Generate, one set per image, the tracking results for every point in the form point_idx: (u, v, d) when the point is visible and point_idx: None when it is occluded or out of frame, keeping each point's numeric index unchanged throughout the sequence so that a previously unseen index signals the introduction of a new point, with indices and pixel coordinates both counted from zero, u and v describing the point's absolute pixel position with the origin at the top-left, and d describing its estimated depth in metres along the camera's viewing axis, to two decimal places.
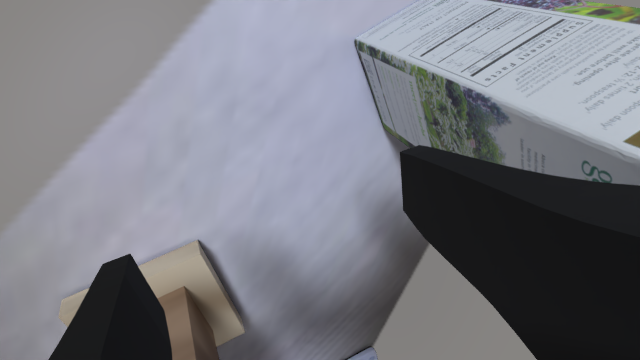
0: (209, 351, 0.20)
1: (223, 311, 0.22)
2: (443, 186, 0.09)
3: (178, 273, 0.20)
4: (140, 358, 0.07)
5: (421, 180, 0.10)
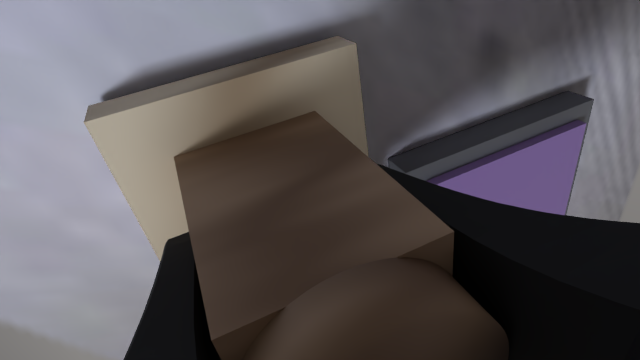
0: (291, 171, 0.09)
1: (274, 85, 0.10)
2: None
3: (135, 165, 0.10)
4: None
5: None
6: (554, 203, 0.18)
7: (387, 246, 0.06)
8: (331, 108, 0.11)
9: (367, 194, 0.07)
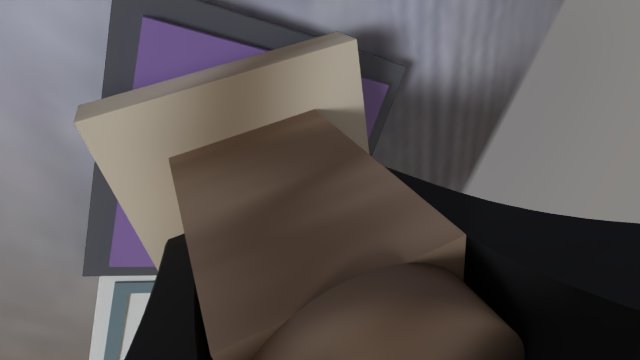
0: (292, 172, 0.08)
1: (272, 83, 0.10)
2: None
3: (128, 167, 0.09)
4: None
5: None
6: None
7: (395, 251, 0.06)
8: (331, 106, 0.11)
9: (372, 196, 0.07)
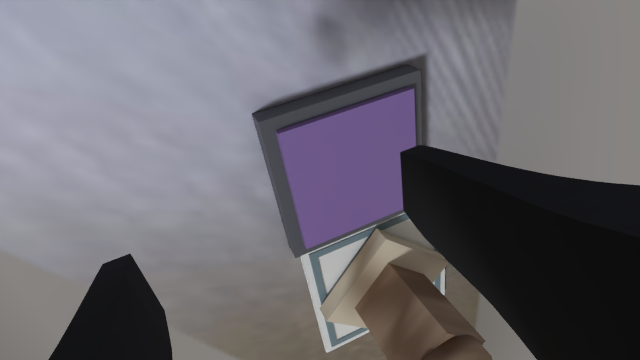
0: (395, 310, 0.24)
1: (369, 270, 0.25)
2: (443, 186, 0.09)
3: (346, 317, 0.27)
4: (140, 358, 0.07)
5: (421, 180, 0.10)
6: None
7: (432, 343, 0.22)
8: (393, 256, 0.26)
9: (421, 319, 0.23)
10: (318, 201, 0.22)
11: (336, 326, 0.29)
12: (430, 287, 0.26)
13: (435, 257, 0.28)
